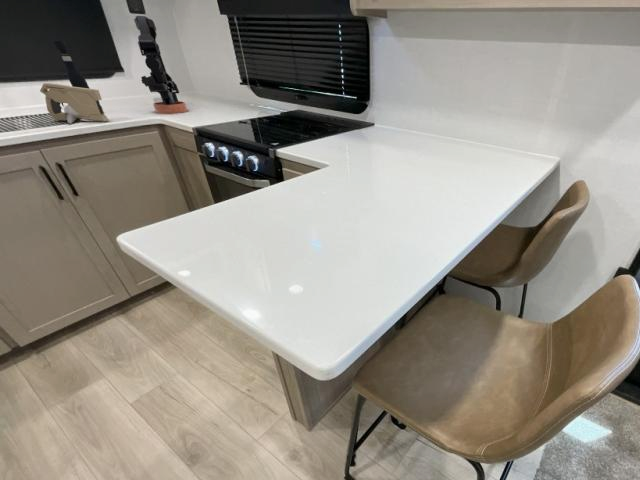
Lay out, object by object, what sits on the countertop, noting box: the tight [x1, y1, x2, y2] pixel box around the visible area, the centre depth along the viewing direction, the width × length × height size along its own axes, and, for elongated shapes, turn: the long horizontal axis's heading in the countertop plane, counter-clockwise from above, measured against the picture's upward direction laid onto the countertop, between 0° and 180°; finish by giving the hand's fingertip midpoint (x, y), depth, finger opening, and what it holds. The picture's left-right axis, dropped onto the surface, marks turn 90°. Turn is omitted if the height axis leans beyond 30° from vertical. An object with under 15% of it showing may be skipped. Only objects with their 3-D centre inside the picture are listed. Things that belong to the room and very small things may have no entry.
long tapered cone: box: [63, 104, 79, 125], centre depth 155 cm, size 6×6×19 cm
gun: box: [39, 82, 110, 123], centre depth 151 cm, size 24×3×15 cm, turn 92°
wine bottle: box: [52, 40, 91, 89], centre depth 163 cm, size 6×6×30 cm
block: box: [159, 92, 175, 105], centre depth 178 cm, size 4×4×8 cm
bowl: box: [152, 100, 188, 115], centre depth 179 cm, size 15×15×4 cm
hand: (169, 104), depth 179 cm, fingers closed on block, 4 cm apart
